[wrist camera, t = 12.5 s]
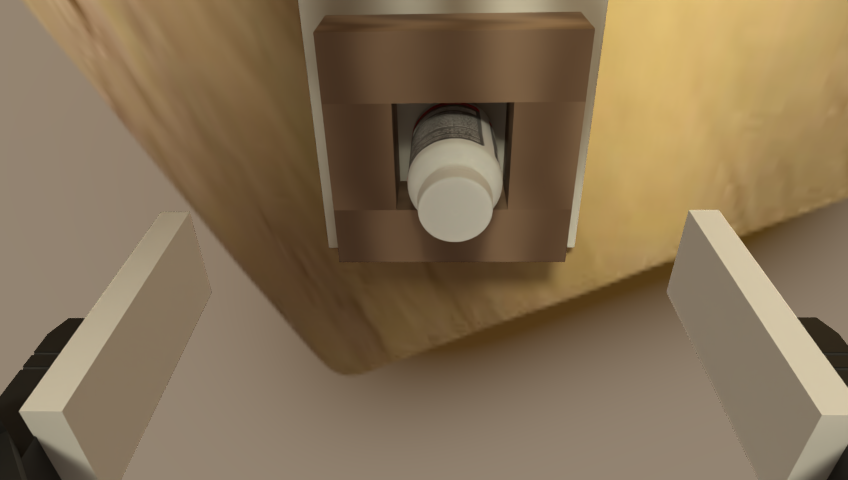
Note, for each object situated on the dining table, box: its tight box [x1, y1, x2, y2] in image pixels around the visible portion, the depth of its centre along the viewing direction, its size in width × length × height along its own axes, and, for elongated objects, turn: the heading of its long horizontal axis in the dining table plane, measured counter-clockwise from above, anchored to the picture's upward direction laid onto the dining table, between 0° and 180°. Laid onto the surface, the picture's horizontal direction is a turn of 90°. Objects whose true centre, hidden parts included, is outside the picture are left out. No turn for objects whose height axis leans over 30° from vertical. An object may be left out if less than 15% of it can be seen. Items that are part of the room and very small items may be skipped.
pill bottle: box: [407, 103, 503, 242], centre depth 36 cm, size 5×5×10 cm
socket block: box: [298, 0, 608, 262], centre depth 38 cm, size 18×18×5 cm
